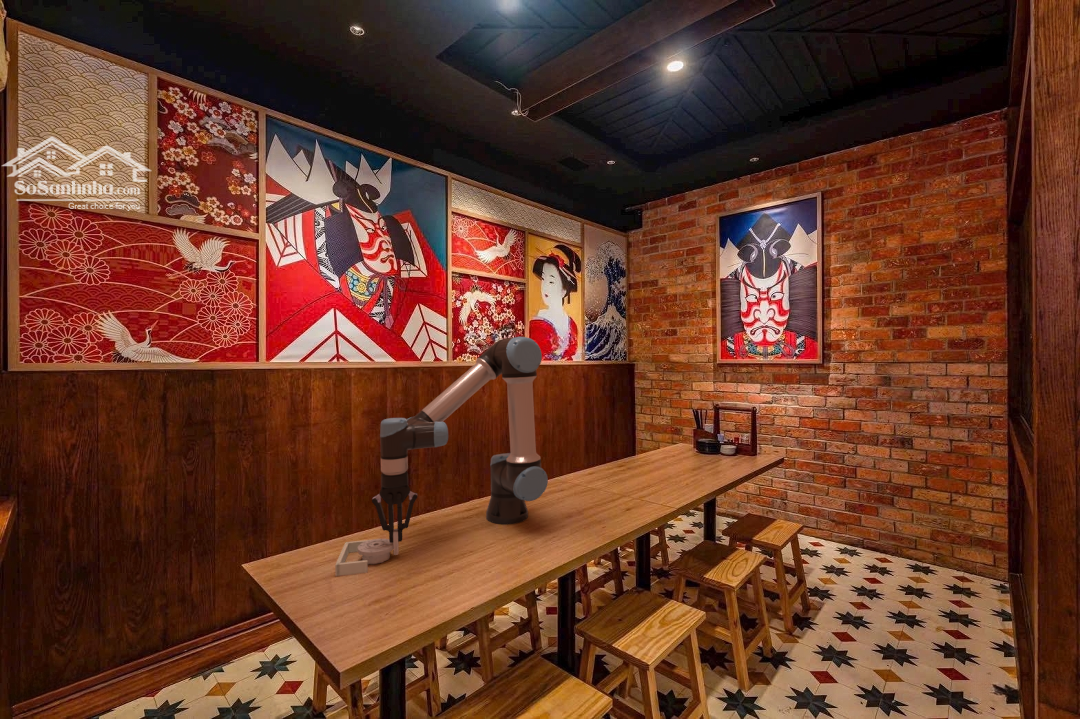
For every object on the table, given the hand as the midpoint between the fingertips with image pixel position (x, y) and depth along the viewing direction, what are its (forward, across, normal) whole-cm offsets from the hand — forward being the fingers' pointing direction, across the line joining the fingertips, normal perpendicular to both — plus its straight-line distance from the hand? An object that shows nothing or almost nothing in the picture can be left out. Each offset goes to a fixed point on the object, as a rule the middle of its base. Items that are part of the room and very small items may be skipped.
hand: (396, 552), depth 133 cm
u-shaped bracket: (+1, +10, 0) cm, 10 cm away
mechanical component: (-1, +11, -2) cm, 11 cm away
